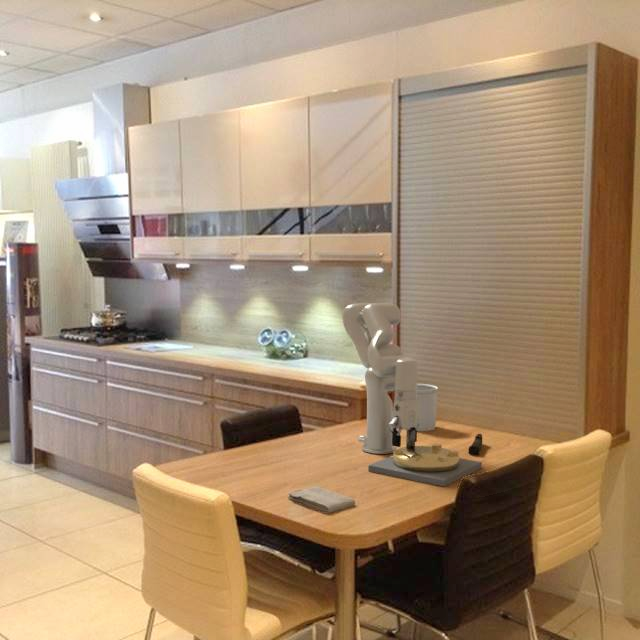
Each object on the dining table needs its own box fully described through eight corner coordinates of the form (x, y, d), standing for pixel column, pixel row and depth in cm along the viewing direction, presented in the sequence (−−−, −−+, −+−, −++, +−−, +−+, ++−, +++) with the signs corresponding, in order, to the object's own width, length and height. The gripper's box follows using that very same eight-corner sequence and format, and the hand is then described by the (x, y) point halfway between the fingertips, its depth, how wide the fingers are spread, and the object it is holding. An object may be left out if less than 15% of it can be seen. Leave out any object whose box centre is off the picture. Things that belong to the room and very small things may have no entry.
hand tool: (479, 456, 279) (479, 444, 279) (468, 455, 281) (468, 443, 280) (487, 445, 297) (487, 433, 297) (476, 444, 298) (477, 432, 298)
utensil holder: (439, 432, 317) (440, 389, 316) (403, 431, 317) (404, 389, 315) (433, 424, 332) (434, 383, 330) (399, 423, 332) (400, 383, 330)
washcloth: (313, 492, 235) (314, 482, 235) (357, 506, 222) (357, 496, 222) (285, 500, 227) (285, 490, 227) (328, 516, 214) (328, 505, 214)
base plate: (368, 471, 258) (368, 464, 258) (410, 454, 280) (410, 448, 280) (443, 486, 241) (443, 479, 241) (481, 467, 264) (481, 461, 264)
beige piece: (472, 466, 256) (473, 439, 255) (418, 475, 246) (419, 446, 245) (432, 451, 275) (433, 425, 275) (380, 458, 265) (381, 431, 264)
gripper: (400, 399, 256) (399, 450, 257) (428, 392, 269) (427, 441, 270) (382, 396, 261) (380, 446, 262) (410, 390, 274) (409, 437, 275)
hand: (404, 443), depth 266 cm, fingers open, 9 cm apart
